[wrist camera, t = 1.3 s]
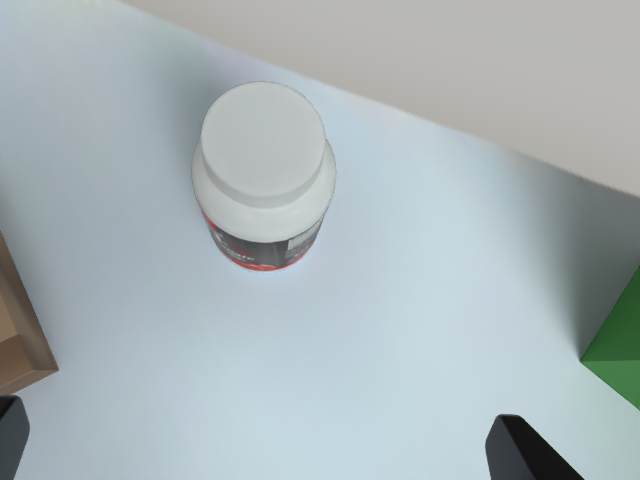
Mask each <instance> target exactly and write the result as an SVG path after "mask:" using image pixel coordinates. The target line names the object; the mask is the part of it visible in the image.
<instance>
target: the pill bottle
mask: <svg viewBox="0 0 640 480" xmlns="http://www.w3.org/2000/svg"><path fill="white" fill-rule="evenodd" d="M191 174H192V184H193V188H194V192H195V196H196V199H197V201H198V203H199V206H200V208H201V210H202V213H203V215H204V218H205V220H206V222H207V225H208V227H209V230H210V232H211V235H212V237H213V239H214V241H215V243H216V245H217V247H218V248H219V250H220V251H221V253H222V254H223V255H224V256H225V257H226V258H227V259H228V260H229V261H231V262H232V263H233V264H235V265H237V266H238V267H240V268H243V269H245V270H248V271H252V272H257V273H272V272H278V271H281V270H284V269H286V268H289V267H291V266H292V265H294V264H295V263H297V262H298V261H300V260H301V259H302V258H303V257H304V256H305V255H306V254H307V252H308V251H309V250H310V248H311V246H312V245H313V243H314V241H315V239H316V237H317V235H318V232H319V229H320V227H321V224H322V221H323V219H324V216H325V214H326V211H327V209H328V206H329V204H330V202H331V199H332V196H333V193H334V189H335V182H336V164H335V158H334V154H333V151H332V149H331V146H330V144H329V142H328V140H327V139H326V137H325V130H324V125H323V123H322V120H321V117H320V116H319V114H318V112H317V110H316V109H315V108H314V106H313V105H312V104H311V103H310V102H309V101H308V100H307V99H306V98H305V97H304V96H303V95H301V94H300V93H299V92H297V91H295V90H294V89H292V88H289V87H287V86H284V85H282V84H278V83H274V82H263V81H260V82H249V83H245V84H241V85H238V86H236V87H234V88H232V89H230V90H228V91H227V92H225V93H224V94H222V95H221V96H220V97H219V98H217V100H216V101H215V102H214V103H213V104H212V105H211V107H210V108H209V110H208V112H207V113H206V115H205V118H204V120H203V124H202V128H201V137H200V139H199V141H198V144H197V146H196V148H195V151H194V155H193V159H192V168H191Z"/></svg>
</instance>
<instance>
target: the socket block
mask: <svg viewBox="0 0 640 480" xmlns="http://www.w3.org/2000/svg"><path fill="white" fill-rule="evenodd" d="M57 371H59V369H58V366H57V364H56V362H55V359H54V357H53V354H52V352H51V350H50V347H49V345H48V343H47V340H46V338H45V335H44V333H43V331H42V328H41V326H40V324H39V321H38V319H37V316H36V314H35V312H34V309H33V307H32V305H31V302H30V300H29V298H28V295H27V293H26V290H25V288H24V286H23V283H22V281H21V279H20V276H19V274H18V271H17V269H16V267H15V264H14V262H13V260H12V257H11V255H10V252H9V250H8V248H7V245H6V243H5V241H4V238H3V236H2V233H1V231H0V395H11V394H13V393H15V392H17V391H19V390H21V389H23V388H25V387H27V386H29V385H31V384H33V383H35V382H37V381H39V380H41V379H43V378H45V377H47V376H49V375H51V374H53V373H55V372H57Z"/></svg>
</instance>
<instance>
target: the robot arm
mask: <svg viewBox="0 0 640 480" xmlns="http://www.w3.org/2000/svg"><path fill="white" fill-rule="evenodd" d="M29 431H30V425H29V421H28V417H27V414H26V411H25V408H24V405H23V401H22V399H21V398H20V397H19V396H16V395H0V480H14V477H15V474H16V471H17V468H18V465H19V463H20V460H21V457H22V454H23V451H24V448H25V445H26V442H27V440H28V436H29ZM485 449H486V456H487V461H488V466H489V471H490V476H491V480H584V479H583V478H582V477H581V476H580V475H579V474H578V473H577V472H576V471H575V470H574V469H573V468H572V467H571V466H570V465H569V464H568V463H567V462H566V461H565V460H564V459H563V458H562V457H561V456H560V455H559V454H558V453H557V452H556V451H555V450H554V449H553V448H552V447H551V446H550V445H549V444H548V443H547V442H546V441H545V440H544V439H543V438H542V437H541V436H540V435H539V434H538V433H537V432H536V431H535V430H534V429H533V428H532V427H531V426H530V425H529V424H528V423H527V422H526V421H525V420H524V419H523V418H522V417H520V416H518V415H513V414H500V415H498V416H497V417H496V419H495V421H494V423H493V425H492V428H491V430H490V432H489V434H488V436H487V439H486V443H485Z"/></svg>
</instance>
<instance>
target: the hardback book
mask: <svg viewBox="0 0 640 480" xmlns="http://www.w3.org/2000/svg"><path fill="white" fill-rule="evenodd" d="M580 362H581V363H582V364H583V365H584V366H586V367H587V368H588V369H589V370H591V371H592V372H593V373H594V374H595V375H597V376H598V377H599V378H600V379H602V380H603V381H604V382H605V383H607V384H608V385H609V386H610V387H612V388H613V389H614V390H615V391H616V392H618V393H619V394H620V395H621V396H623V397H624V398H625V399H626V400H628V401H629V402H630V403H631V404H633V405H634V406H635V407H636V408H638V409H639V410H640V266H639V268H638V269H637V271H636V273H635V274H634V276H633V277H632V279H631V281H630V282H629V284H628V285H627V287H626V289H625V290H624V292H623V293H622V295H621V297H620V298H619V300H618V301H617V303H616V305H615V306H614V308H613V309H612V311H611V313H610V314H609V316H608V317H607V319H606V321H605V322H604V324H603V325H602V327H601V329H600V330H599V332H598V333H597V335H596V337H595V338H594V340H593V341H592V343H591V345H590V346H589V348H588V349H587V351H586V353H585V354H584V356H583V357H582V359H581V361H580Z"/></svg>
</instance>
